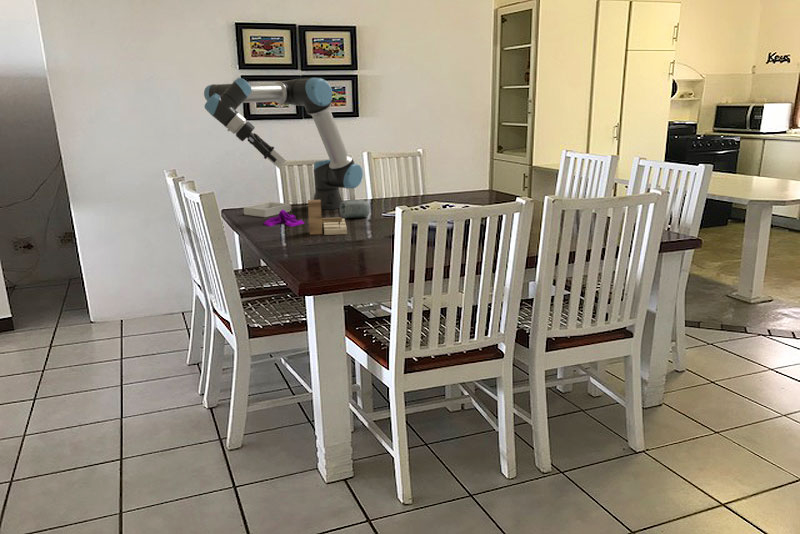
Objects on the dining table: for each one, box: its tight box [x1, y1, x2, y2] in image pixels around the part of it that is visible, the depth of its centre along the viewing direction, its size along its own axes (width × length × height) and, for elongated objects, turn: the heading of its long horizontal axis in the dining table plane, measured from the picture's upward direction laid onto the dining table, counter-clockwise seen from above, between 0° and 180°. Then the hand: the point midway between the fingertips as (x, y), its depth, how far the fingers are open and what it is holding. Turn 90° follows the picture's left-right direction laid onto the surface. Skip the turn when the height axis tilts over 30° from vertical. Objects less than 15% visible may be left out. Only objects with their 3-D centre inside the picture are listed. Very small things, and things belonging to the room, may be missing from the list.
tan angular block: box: [307, 199, 343, 235], centre depth 252 cm, size 5×13×13 cm, turn 98°
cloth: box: [263, 210, 305, 228], centre depth 276 cm, size 22×19×6 cm
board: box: [323, 218, 348, 236], centre depth 260 cm, size 22×9×2 cm, turn 8°
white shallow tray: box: [243, 201, 292, 218], centre depth 298 cm, size 17×14×4 cm
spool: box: [339, 199, 371, 220], centre depth 282 cm, size 14×10×10 cm
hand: (283, 164), depth 251 cm, fingers open, 13 cm apart
